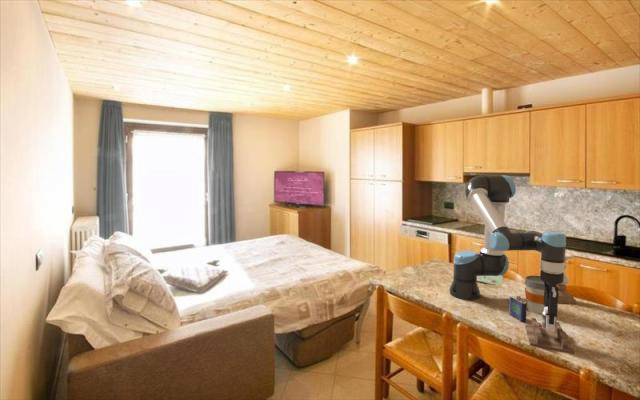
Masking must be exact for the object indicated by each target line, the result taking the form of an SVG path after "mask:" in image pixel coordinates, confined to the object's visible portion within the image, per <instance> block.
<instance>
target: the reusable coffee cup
mask: <svg viewBox="0 0 640 400" xmlns="http://www.w3.org/2000/svg"><path fill="white" fill-rule="evenodd" d="M524 279H525V280H524V285H525V288H524V294H525V295H524V296H525V299H526V303H527V309H528V310H529V311H530V312H533V313H535V314H539V315H540V314H541V315H542V313H543V311H544V304H543V303H544V281H542V280H541V279H540V275H526V276H525V278H524Z"/></svg>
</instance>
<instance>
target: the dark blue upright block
mask: <svg viewBox="0 0 640 400" xmlns="http://www.w3.org/2000/svg"><path fill="white" fill-rule="evenodd" d="M527 308H528V305H527V301H525V300H523V299H522V298H521V295H516V296H514V295H510V296H509V311H508V315H509V316H511V317H512V318H514V319H515V320H517V321H519V322H520V323H522V324H525V323H527Z"/></svg>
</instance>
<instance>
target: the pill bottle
mask: <svg viewBox="0 0 640 400" xmlns="http://www.w3.org/2000/svg"><path fill="white" fill-rule="evenodd" d="M545 313H548V307H544V311H543V313H542V314H541V315H542V316H541V317H542V318H541V327H542V328H543V329H545V330H546V319H547V315H545ZM557 320H558V316H557V317H555V331H556V324H557V322H558V321H557Z"/></svg>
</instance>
